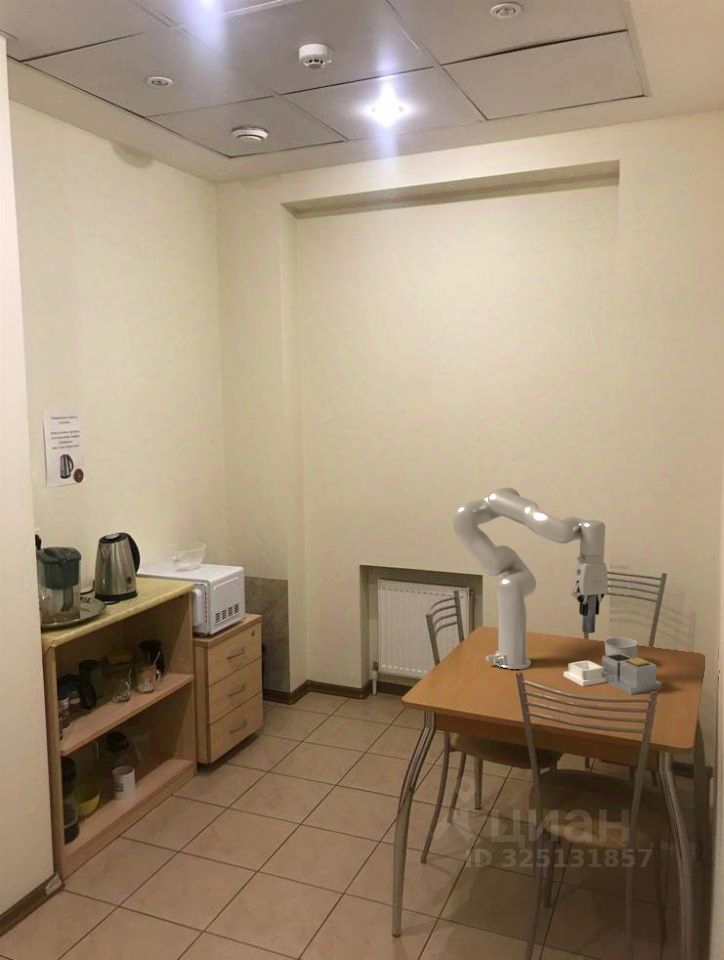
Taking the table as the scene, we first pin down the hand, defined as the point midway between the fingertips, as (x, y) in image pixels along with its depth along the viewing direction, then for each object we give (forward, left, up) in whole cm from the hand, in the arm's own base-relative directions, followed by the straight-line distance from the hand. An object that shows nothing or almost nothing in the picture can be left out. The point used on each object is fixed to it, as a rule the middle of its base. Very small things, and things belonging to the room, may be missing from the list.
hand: (589, 613), depth 251 cm
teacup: (+20, +9, -22) cm, 31 cm away
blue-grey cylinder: (0, 0, -6) cm, 6 cm away
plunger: (+9, -13, -19) cm, 25 cm away
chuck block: (+9, -8, -22) cm, 25 cm away
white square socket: (-1, 0, -22) cm, 22 cm away
